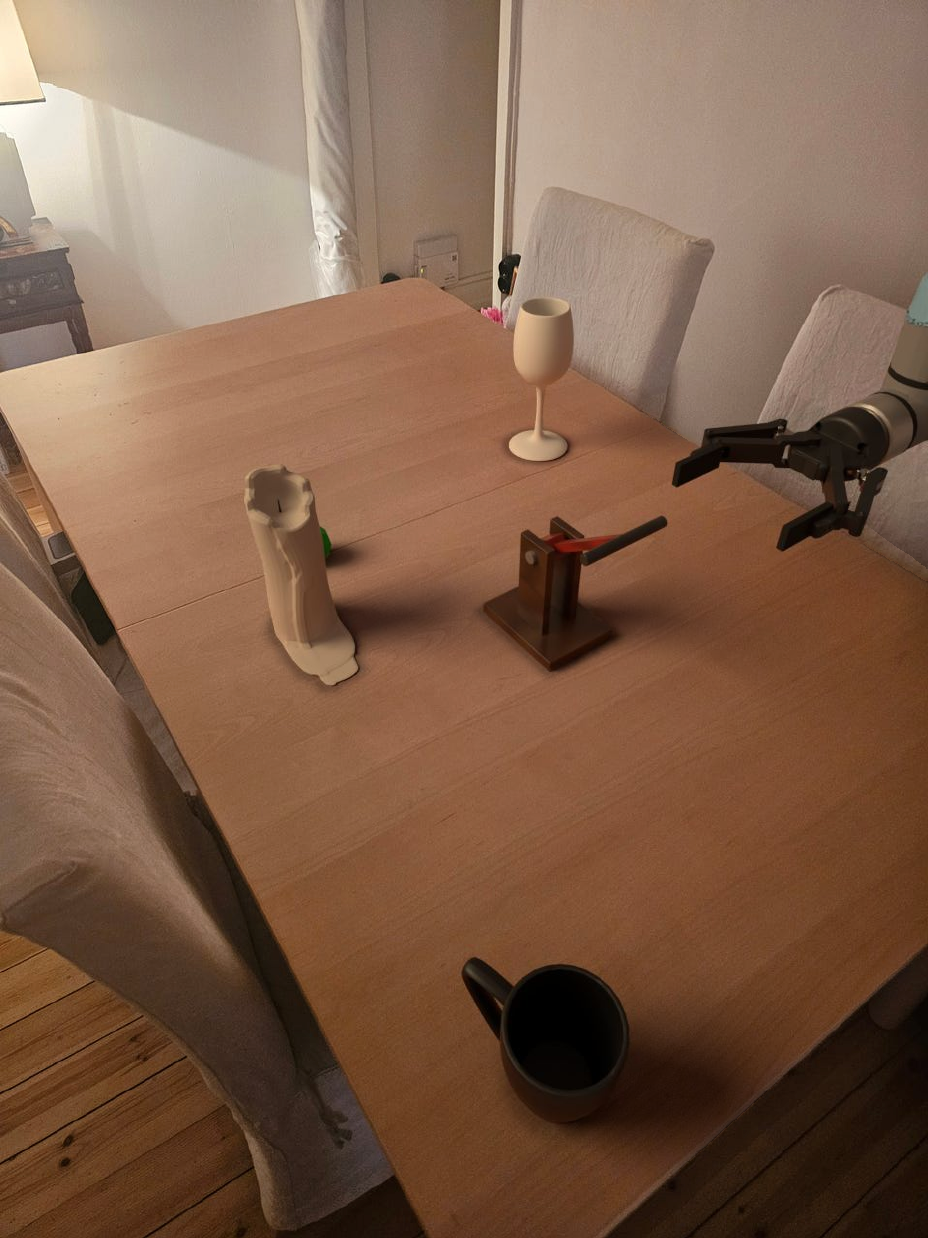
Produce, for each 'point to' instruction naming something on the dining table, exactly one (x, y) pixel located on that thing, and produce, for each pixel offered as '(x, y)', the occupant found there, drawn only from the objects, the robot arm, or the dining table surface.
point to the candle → (297, 573)
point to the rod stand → (548, 603)
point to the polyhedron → (325, 542)
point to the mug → (554, 1035)
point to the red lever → (601, 542)
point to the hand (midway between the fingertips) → (726, 505)
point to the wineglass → (542, 367)
